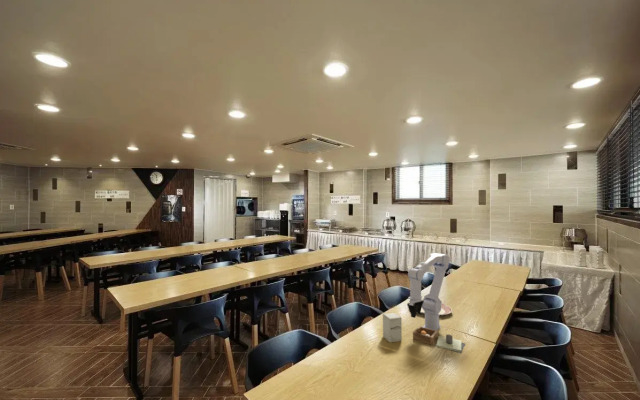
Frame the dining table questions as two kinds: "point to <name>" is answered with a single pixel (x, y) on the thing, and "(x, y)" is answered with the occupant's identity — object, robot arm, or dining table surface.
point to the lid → (449, 343)
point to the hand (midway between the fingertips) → (415, 315)
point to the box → (425, 338)
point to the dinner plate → (444, 310)
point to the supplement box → (392, 327)
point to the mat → (454, 350)
